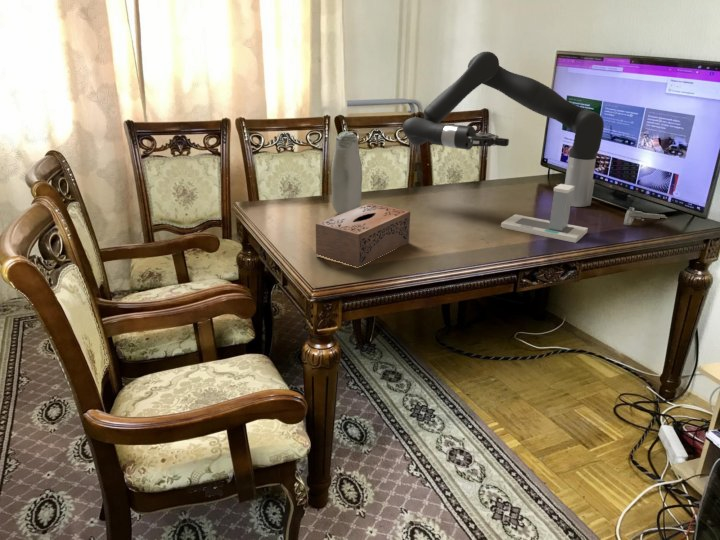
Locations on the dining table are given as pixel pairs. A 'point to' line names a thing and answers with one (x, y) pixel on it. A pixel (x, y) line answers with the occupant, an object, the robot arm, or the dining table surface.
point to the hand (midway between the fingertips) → (507, 142)
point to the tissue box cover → (362, 234)
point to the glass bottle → (346, 173)
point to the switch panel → (543, 228)
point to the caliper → (639, 216)
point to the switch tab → (561, 207)
